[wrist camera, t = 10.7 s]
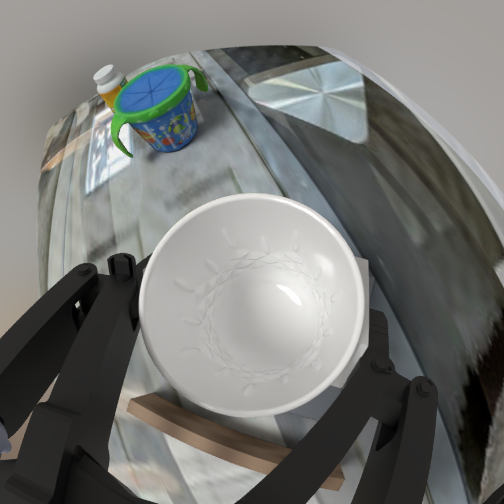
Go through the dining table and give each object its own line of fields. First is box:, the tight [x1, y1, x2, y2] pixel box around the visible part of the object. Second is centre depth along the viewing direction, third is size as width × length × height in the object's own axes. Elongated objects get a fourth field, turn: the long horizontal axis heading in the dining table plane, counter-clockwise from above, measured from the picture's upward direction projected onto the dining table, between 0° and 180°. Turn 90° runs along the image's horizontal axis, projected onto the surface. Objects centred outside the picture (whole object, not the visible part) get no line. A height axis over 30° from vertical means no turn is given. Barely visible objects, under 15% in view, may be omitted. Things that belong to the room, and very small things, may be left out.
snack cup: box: [111, 65, 208, 158], centre depth 34 cm, size 16×10×10 cm
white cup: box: [139, 193, 365, 418], centre depth 14 cm, size 8×8×10 cm
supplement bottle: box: [93, 65, 128, 114], centre depth 39 cm, size 5×5×10 cm
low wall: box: [127, 393, 345, 491], centre depth 23 cm, size 22×2×5 cm, turn 70°
